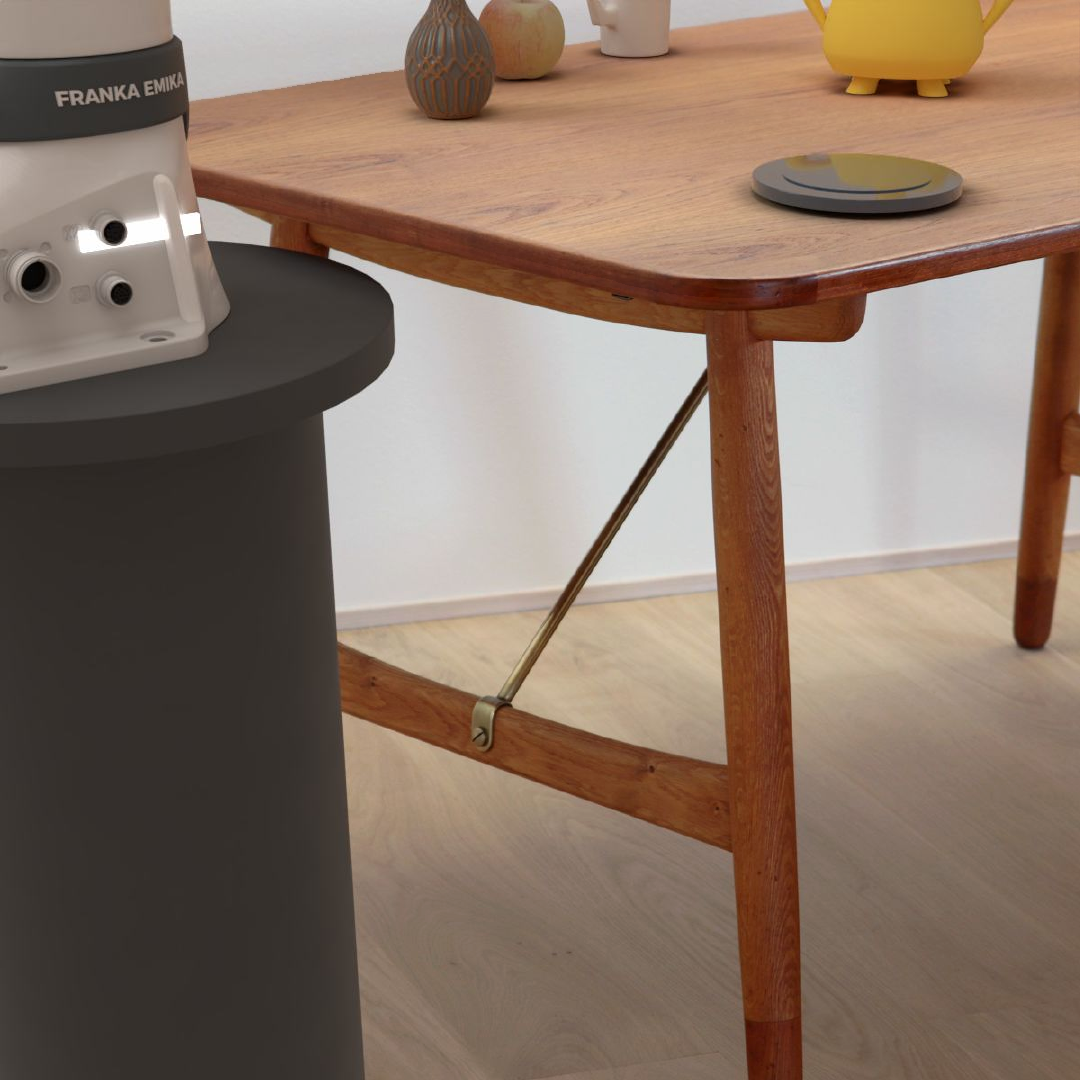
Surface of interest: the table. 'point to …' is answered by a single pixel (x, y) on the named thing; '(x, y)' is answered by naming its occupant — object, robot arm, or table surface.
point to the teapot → (904, 40)
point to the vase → (449, 62)
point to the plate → (857, 183)
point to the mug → (632, 26)
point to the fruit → (524, 36)
